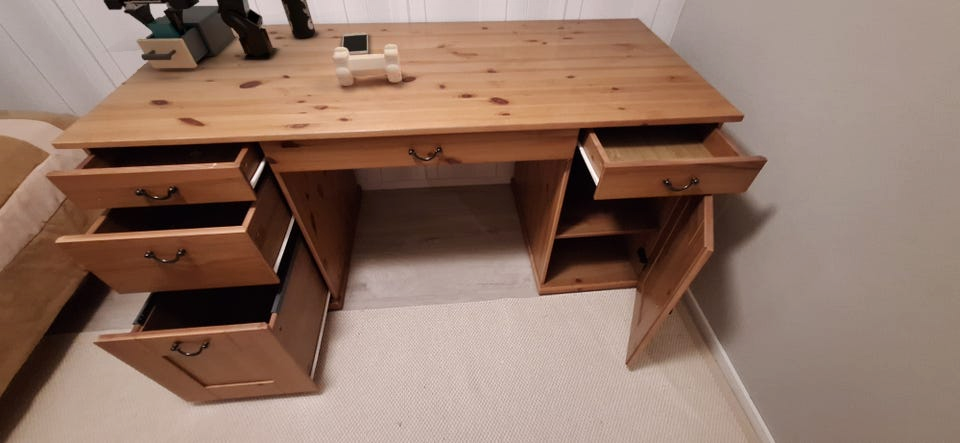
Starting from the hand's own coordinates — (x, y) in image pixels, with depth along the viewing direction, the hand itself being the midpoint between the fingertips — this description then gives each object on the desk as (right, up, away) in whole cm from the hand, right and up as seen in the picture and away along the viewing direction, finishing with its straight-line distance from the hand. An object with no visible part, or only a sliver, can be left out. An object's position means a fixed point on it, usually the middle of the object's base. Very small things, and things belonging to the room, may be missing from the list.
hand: (172, 37), depth 96 cm
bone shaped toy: (+52, -12, -2) cm, 53 cm away
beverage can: (+25, +9, +18) cm, 33 cm away
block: (0, -1, +1) cm, 1 cm away
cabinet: (0, +3, +12) cm, 12 cm away
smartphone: (+43, +4, +13) cm, 45 cm away
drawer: (0, -5, +3) cm, 6 cm away
